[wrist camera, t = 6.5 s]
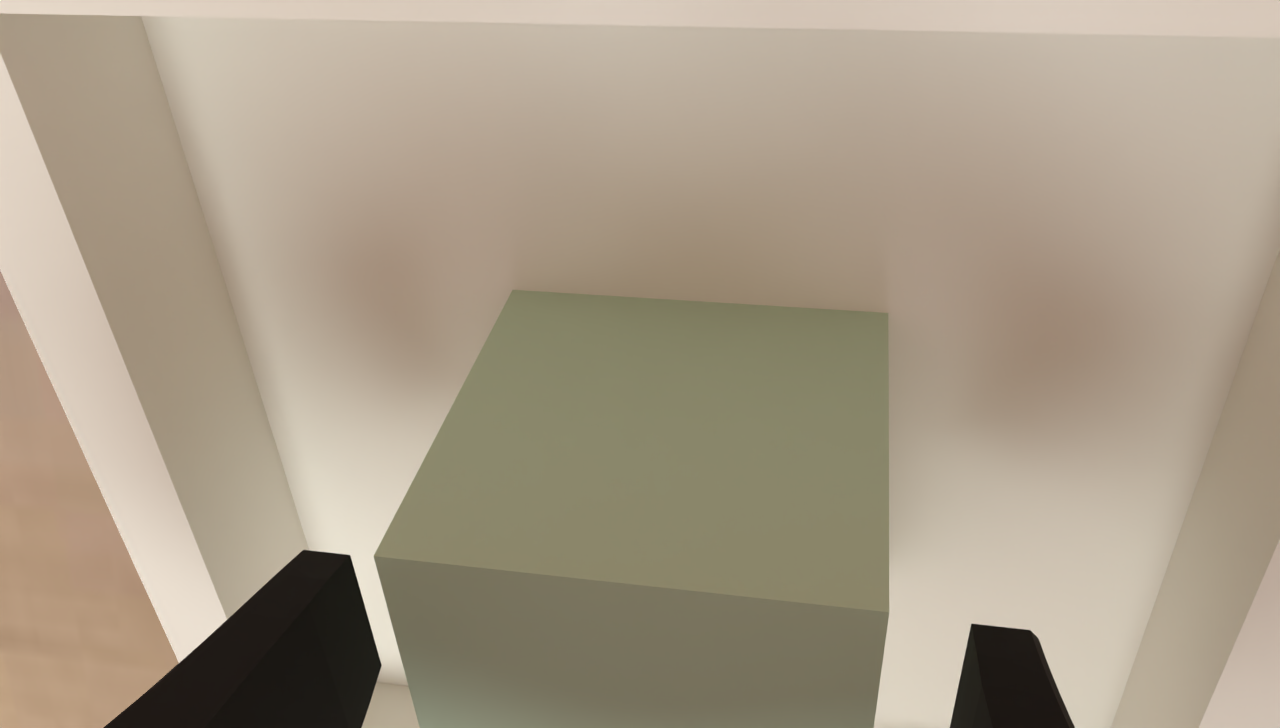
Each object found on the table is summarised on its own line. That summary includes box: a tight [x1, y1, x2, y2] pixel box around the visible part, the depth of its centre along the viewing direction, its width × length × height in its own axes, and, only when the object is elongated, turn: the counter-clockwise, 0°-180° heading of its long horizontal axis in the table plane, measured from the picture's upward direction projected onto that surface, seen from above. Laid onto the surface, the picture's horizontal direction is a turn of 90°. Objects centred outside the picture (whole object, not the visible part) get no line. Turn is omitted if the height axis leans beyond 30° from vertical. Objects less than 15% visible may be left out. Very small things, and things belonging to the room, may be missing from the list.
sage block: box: [374, 290, 889, 728], centre depth 14 cm, size 5×5×5 cm
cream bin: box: [0, 0, 1280, 728], centre depth 15 cm, size 16×16×3 cm
